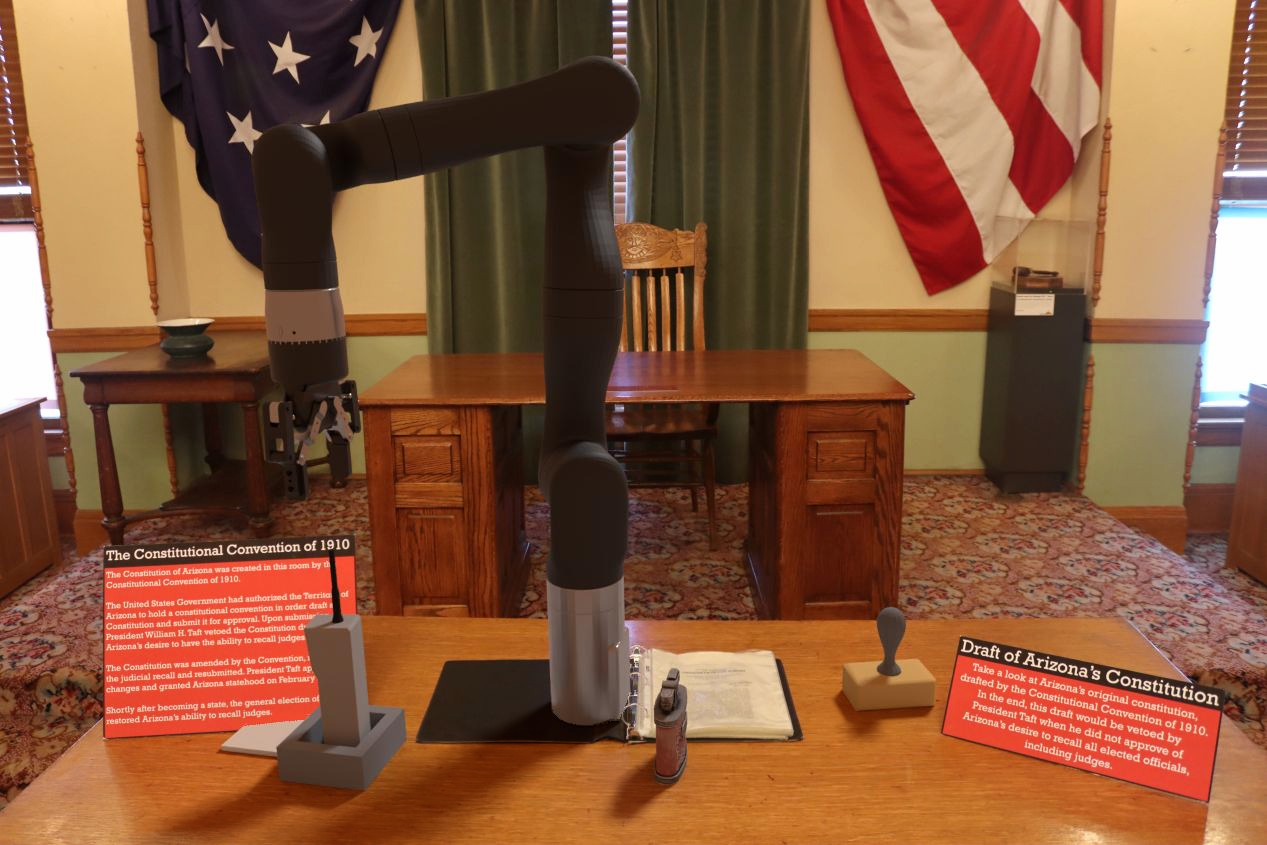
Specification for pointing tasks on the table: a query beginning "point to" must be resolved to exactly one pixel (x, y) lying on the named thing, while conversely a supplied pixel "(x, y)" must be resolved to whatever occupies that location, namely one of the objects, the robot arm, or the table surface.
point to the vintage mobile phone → (339, 671)
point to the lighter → (671, 730)
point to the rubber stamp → (889, 673)
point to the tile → (260, 738)
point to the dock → (341, 751)
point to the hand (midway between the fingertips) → (321, 487)
